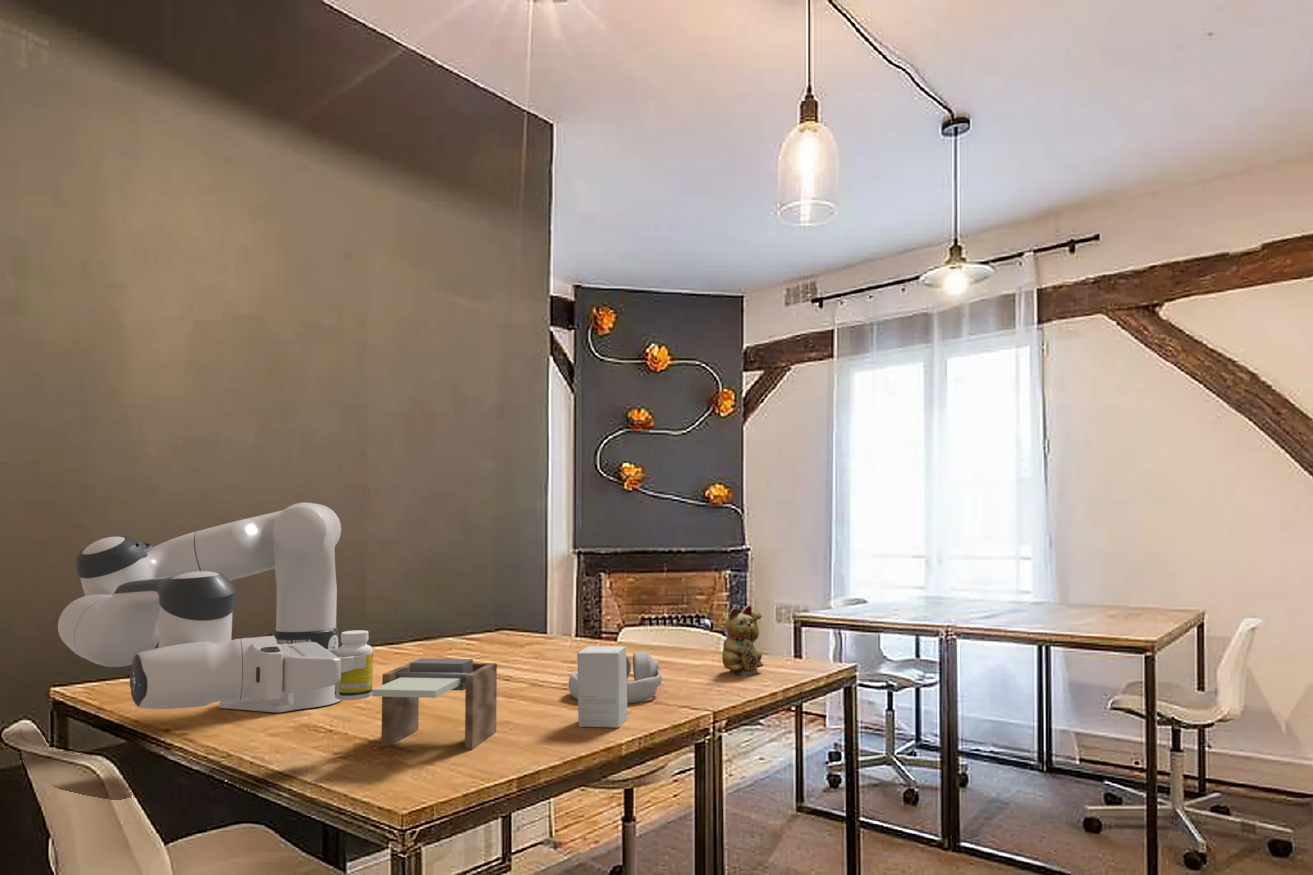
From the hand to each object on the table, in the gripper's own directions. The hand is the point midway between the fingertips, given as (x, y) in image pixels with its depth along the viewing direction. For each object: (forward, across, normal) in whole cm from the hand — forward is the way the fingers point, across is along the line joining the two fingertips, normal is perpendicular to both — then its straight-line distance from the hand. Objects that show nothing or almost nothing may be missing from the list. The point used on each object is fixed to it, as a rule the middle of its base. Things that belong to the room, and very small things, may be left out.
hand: (360, 657), depth 131 cm
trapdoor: (+10, +2, -6) cm, 12 cm away
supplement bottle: (-1, 0, -6) cm, 6 cm away
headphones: (+54, -17, -15) cm, 59 cm away
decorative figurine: (+88, -21, -15) cm, 92 cm away
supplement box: (+40, +3, -15) cm, 43 cm away
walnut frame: (+13, -2, -15) cm, 20 cm away
